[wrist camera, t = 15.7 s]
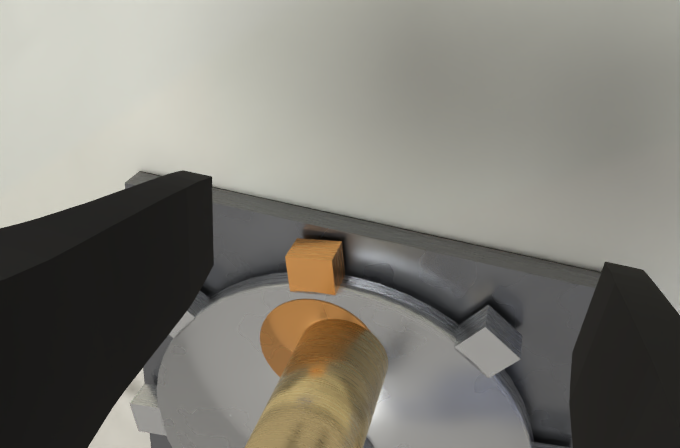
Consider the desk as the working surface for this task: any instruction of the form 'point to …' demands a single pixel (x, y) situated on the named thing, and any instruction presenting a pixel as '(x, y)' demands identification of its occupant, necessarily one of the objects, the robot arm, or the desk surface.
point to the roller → (325, 390)
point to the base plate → (417, 287)
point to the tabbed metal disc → (346, 304)
